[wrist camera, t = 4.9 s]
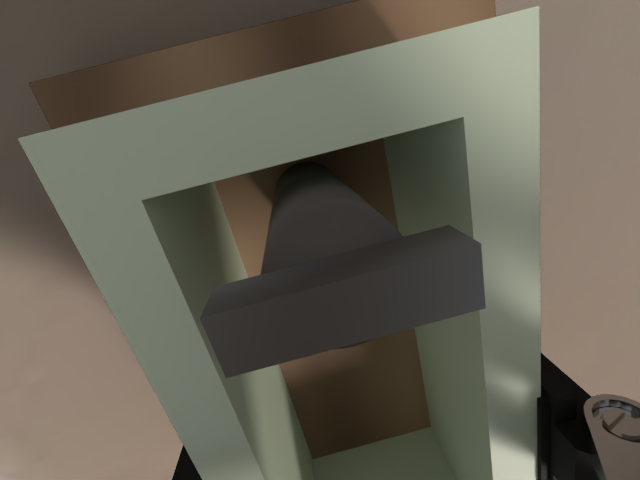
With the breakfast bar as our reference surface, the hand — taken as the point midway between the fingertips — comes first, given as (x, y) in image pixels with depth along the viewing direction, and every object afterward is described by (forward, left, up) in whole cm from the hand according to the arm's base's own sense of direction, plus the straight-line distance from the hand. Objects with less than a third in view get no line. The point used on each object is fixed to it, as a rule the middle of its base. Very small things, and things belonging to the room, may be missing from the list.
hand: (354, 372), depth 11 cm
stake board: (0, 0, -2) cm, 2 cm away
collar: (0, 0, -1) cm, 1 cm away
